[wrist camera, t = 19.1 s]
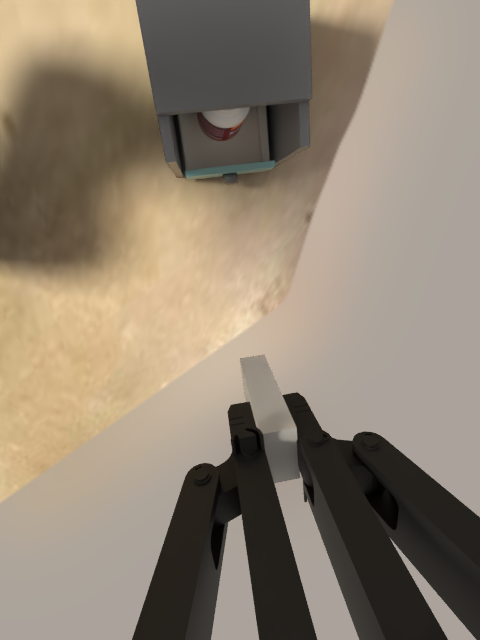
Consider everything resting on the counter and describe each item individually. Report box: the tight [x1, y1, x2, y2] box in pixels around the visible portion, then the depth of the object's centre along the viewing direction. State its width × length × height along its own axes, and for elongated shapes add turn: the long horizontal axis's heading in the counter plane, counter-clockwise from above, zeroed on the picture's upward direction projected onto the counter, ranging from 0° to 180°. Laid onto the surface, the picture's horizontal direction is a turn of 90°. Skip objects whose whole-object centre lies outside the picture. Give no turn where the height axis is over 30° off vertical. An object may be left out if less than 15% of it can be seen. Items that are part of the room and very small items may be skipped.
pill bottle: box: [197, 107, 250, 141], centre depth 36 cm, size 6×6×11 cm
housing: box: [136, 0, 312, 177], centre depth 34 cm, size 18×15×16 cm
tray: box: [177, 106, 275, 184], centre depth 39 cm, size 18×12×4 cm, turn 7°
